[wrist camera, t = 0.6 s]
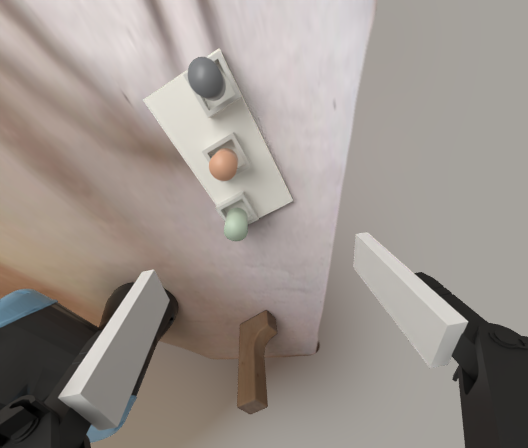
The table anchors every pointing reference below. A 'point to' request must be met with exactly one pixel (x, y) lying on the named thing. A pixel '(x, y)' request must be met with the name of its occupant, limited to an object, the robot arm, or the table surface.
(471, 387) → the robot arm
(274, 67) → the table surface
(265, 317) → the wooden block
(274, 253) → the table surface
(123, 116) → the table surface
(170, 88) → the button board
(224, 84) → the charcoal plunger
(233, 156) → the terracotta plunger
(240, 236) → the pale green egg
